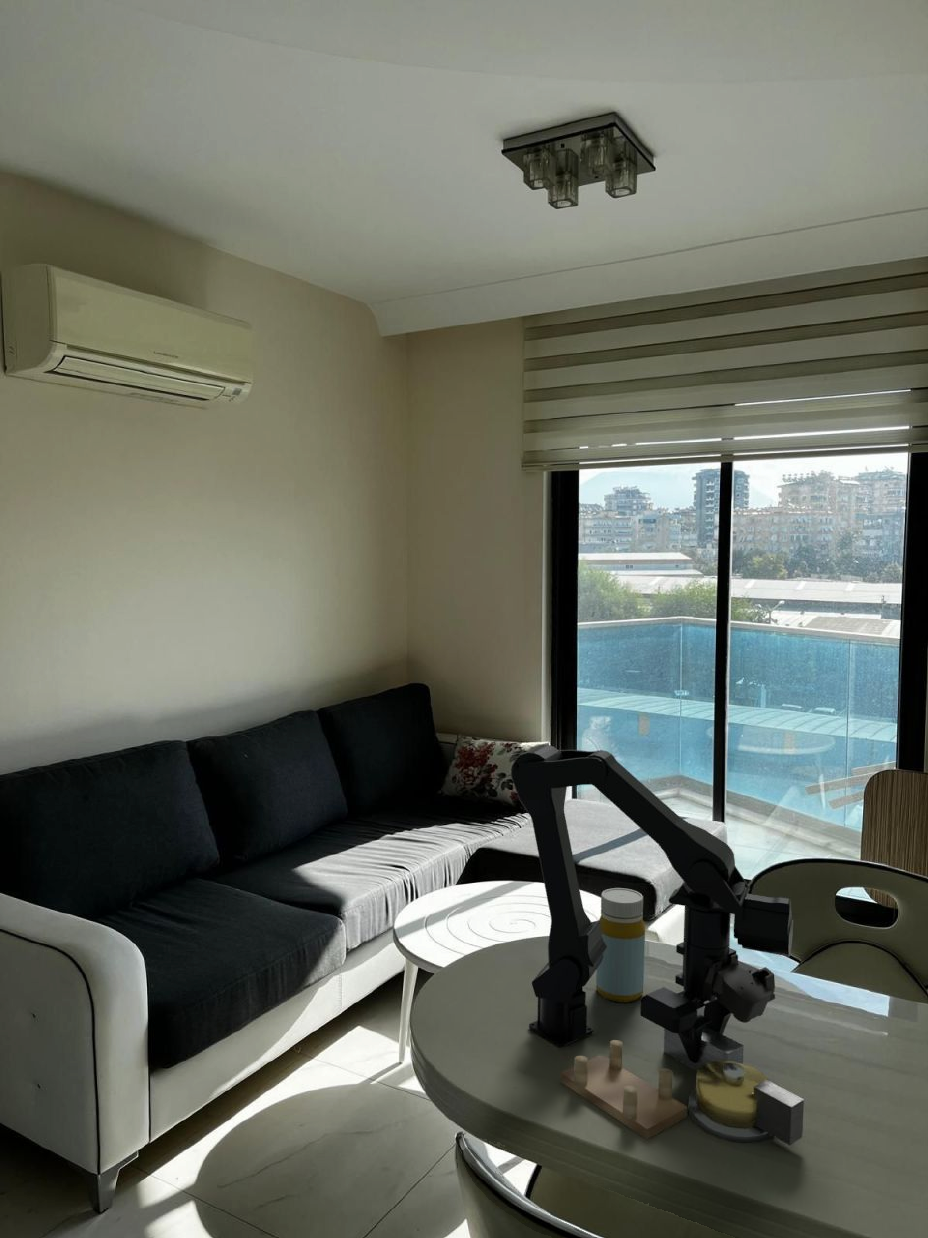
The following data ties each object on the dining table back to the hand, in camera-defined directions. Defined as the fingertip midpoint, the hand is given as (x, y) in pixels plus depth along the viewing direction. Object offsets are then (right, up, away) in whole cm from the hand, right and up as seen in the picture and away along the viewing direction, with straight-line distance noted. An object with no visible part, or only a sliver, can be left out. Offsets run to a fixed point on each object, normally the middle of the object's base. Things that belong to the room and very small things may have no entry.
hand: (702, 1057), depth 120 cm
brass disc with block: (+2, -1, -12) cm, 13 cm away
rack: (-12, -1, -8) cm, 14 cm away
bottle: (-7, 0, +20) cm, 21 cm away
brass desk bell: (+1, -2, -11) cm, 11 cm away
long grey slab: (0, -1, 0) cm, 1 cm away
